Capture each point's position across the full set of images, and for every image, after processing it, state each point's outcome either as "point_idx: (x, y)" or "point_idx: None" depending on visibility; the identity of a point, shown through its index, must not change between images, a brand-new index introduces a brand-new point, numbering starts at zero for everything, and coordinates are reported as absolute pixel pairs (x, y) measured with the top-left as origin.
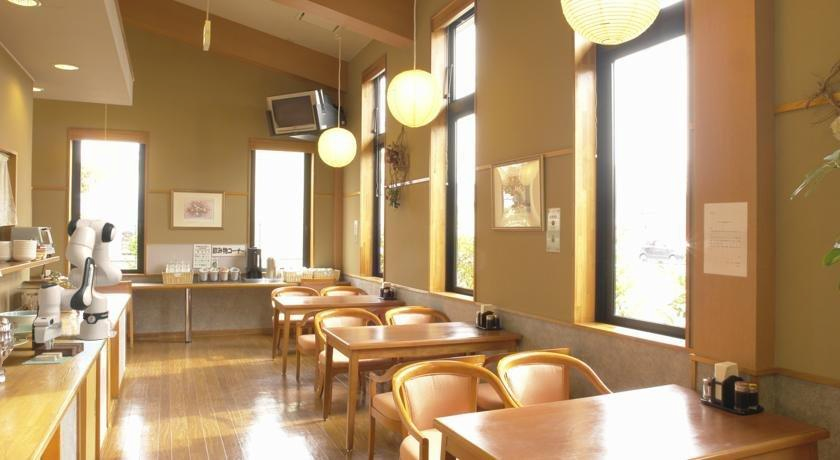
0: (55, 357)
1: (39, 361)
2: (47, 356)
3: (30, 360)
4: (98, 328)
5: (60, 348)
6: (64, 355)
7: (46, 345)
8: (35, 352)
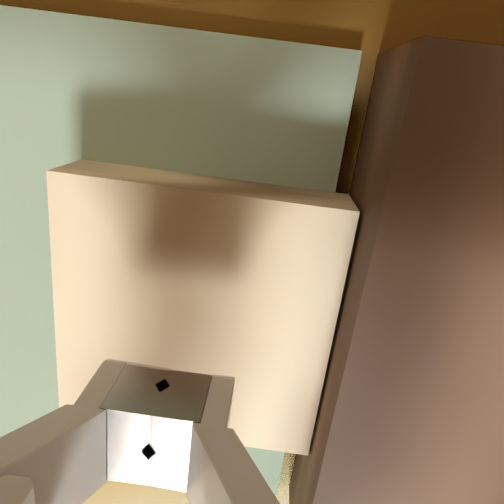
0: None
1: None
2: (56, 337)
3: (141, 65)
4: None
5: (360, 475)
6: None
7: (59, 421)
8: (398, 63)
